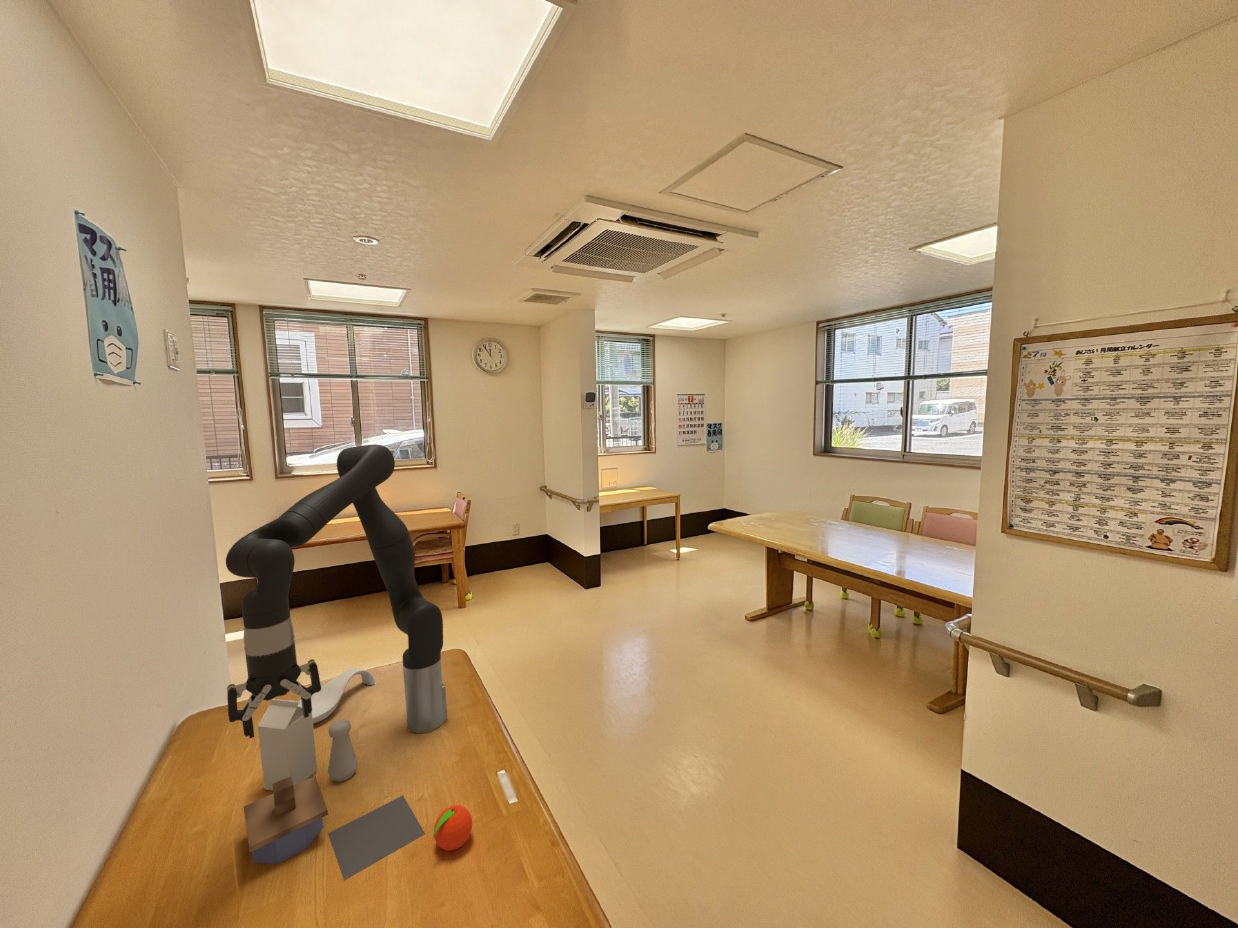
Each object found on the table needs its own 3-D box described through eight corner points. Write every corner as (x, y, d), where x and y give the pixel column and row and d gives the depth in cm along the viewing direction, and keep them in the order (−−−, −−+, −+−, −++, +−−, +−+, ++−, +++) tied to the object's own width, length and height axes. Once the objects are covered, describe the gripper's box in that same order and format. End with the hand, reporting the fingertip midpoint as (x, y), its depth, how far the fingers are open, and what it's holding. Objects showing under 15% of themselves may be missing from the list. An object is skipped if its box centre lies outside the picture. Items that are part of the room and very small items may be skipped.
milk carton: (291, 794, 106) (283, 711, 104) (264, 789, 108) (255, 708, 105) (317, 770, 113) (310, 692, 111) (291, 766, 114) (284, 689, 112)
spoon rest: (311, 735, 126) (308, 709, 125) (279, 726, 130) (276, 700, 129) (384, 686, 148) (382, 664, 147) (354, 679, 152) (352, 657, 151)
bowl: (315, 806, 103) (313, 781, 102) (327, 840, 94) (324, 814, 94) (249, 837, 95) (246, 811, 95) (255, 877, 87) (252, 849, 86)
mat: (403, 797, 105) (403, 794, 104) (425, 836, 95) (425, 833, 95) (328, 835, 95) (328, 832, 95) (344, 883, 86) (344, 879, 86)
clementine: (446, 871, 87) (444, 835, 87) (422, 853, 91) (419, 818, 90) (481, 838, 94) (479, 804, 93) (456, 822, 98) (454, 790, 97)
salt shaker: (328, 790, 107) (322, 734, 106) (329, 773, 112) (324, 719, 111) (358, 780, 110) (353, 726, 108) (358, 764, 115) (354, 712, 113)
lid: (315, 779, 103) (313, 753, 102) (327, 814, 94) (325, 785, 93) (244, 811, 95) (240, 782, 94) (249, 852, 86) (246, 820, 85)
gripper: (310, 625, 99) (318, 701, 100) (219, 650, 89) (230, 733, 91) (318, 638, 93) (326, 718, 95) (222, 665, 84) (233, 753, 85)
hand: (279, 725), depth 93 cm, fingers open, 8 cm apart
